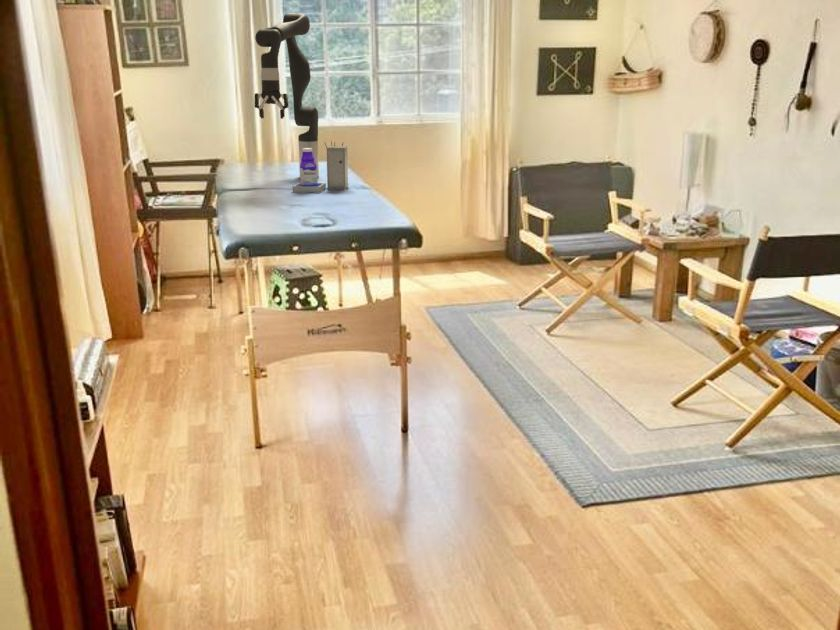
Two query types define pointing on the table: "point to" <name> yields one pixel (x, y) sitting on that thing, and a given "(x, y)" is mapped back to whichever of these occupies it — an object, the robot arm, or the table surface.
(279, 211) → the table surface
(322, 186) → the tray
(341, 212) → the table surface
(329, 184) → the grey slotted box
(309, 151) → the bottle
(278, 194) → the table surface
